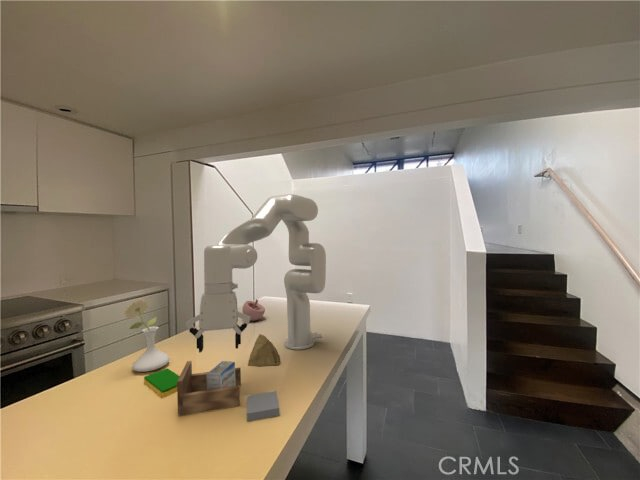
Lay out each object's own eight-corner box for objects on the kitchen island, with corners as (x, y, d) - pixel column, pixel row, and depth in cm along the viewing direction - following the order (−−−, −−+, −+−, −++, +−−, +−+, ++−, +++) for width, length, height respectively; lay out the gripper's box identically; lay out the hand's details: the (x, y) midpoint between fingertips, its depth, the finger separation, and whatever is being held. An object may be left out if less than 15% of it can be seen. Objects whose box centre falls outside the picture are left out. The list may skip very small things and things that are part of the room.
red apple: (262, 323, 144) (262, 301, 144) (239, 324, 144) (239, 302, 144) (267, 316, 156) (266, 296, 156) (246, 317, 156) (245, 297, 156)
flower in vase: (164, 357, 106) (162, 292, 105) (174, 366, 98) (171, 296, 97) (123, 369, 97) (120, 298, 96) (130, 381, 89) (127, 304, 88)
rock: (288, 354, 101) (269, 344, 107) (279, 341, 96) (260, 331, 102) (269, 381, 94) (250, 369, 100) (259, 368, 90) (240, 357, 95)
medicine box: (221, 406, 74) (220, 374, 74) (206, 404, 75) (206, 373, 75) (236, 389, 82) (235, 361, 82) (222, 388, 83) (221, 360, 83)
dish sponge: (167, 374, 93) (167, 367, 93) (187, 388, 84) (187, 380, 84) (143, 384, 87) (143, 376, 87) (162, 399, 79) (162, 390, 79)
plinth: (276, 397, 78) (276, 390, 78) (279, 415, 70) (279, 407, 70) (247, 402, 76) (247, 395, 76) (247, 421, 68) (246, 413, 68)
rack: (240, 383, 86) (240, 354, 86) (239, 405, 74) (238, 372, 74) (188, 391, 82) (187, 361, 82) (178, 416, 71) (176, 381, 70)
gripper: (250, 285, 84) (250, 341, 84) (188, 288, 80) (189, 347, 80) (250, 289, 77) (250, 350, 77) (182, 292, 72) (183, 357, 72)
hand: (219, 348), depth 78 cm, fingers open, 9 cm apart
